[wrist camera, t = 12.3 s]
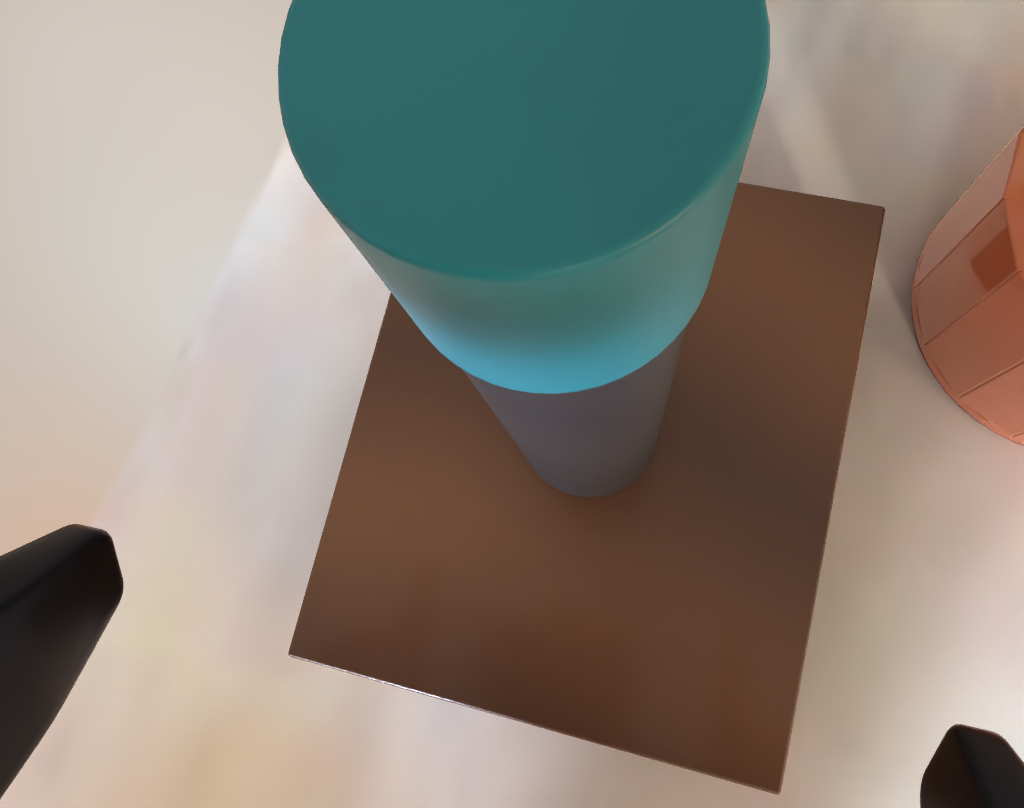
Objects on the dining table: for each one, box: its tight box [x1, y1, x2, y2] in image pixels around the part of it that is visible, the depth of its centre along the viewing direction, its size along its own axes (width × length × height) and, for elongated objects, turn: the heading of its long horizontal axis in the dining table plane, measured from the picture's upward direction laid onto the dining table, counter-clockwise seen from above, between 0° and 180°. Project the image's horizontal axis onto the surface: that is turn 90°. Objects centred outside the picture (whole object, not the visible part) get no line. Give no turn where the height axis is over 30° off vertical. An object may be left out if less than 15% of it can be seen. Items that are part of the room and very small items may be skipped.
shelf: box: [289, 183, 885, 794], centre depth 20 cm, size 12×10×4 cm
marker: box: [278, 0, 770, 497], centre depth 11 cm, size 3×3×13 cm
